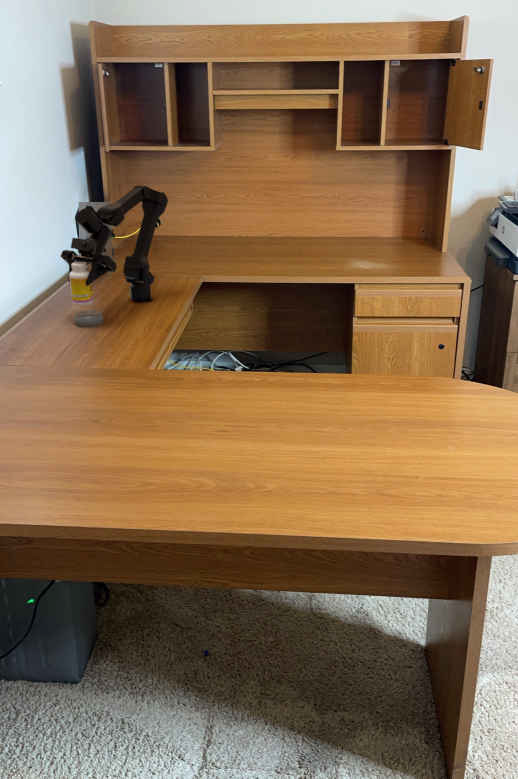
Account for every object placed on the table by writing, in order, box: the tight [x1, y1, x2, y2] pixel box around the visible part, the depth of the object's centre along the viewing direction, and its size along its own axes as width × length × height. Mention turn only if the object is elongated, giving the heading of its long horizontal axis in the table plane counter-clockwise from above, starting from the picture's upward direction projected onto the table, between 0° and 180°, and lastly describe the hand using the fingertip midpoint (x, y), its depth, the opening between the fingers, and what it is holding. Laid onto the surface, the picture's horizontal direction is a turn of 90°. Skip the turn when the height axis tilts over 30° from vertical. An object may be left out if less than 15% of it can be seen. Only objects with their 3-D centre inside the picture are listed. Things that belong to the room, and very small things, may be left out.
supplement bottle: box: [68, 262, 94, 306], centre depth 224 cm, size 7×7×13 cm
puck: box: [73, 309, 104, 328], centre depth 228 cm, size 9×9×3 cm
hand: (77, 283), depth 223 cm, fingers closed on supplement bottle, 6 cm apart
